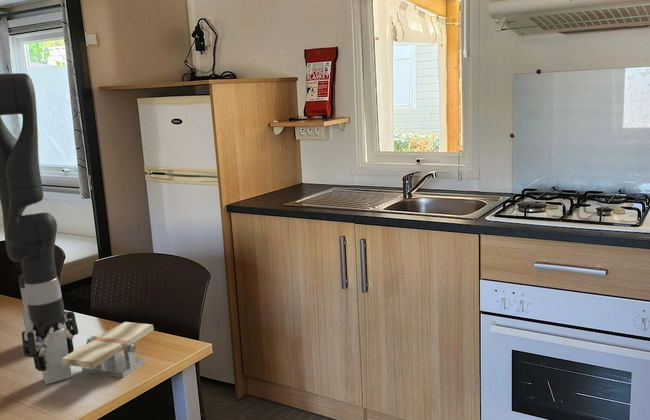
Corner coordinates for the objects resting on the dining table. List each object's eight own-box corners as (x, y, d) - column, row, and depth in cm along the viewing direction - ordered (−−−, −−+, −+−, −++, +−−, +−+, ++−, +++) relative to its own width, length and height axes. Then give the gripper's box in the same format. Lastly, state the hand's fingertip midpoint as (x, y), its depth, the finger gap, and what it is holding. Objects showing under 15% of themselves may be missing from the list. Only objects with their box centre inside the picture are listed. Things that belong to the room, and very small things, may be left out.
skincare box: (46, 385, 144) (37, 337, 142) (42, 378, 148) (34, 331, 146) (73, 377, 148) (65, 329, 145) (69, 370, 151) (61, 324, 149)
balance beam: (62, 364, 142) (61, 357, 142) (125, 327, 162) (124, 321, 162) (93, 368, 139) (92, 361, 138) (153, 330, 159) (153, 324, 158)
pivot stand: (80, 371, 150) (75, 344, 149) (103, 357, 158) (99, 330, 156) (125, 377, 145) (121, 349, 144) (146, 362, 153) (142, 335, 151)
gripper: (32, 310, 136) (44, 377, 139) (79, 288, 149) (89, 351, 152) (7, 308, 139) (20, 374, 142) (55, 287, 152) (66, 348, 155)
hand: (55, 362), depth 147 cm, fingers open, 8 cm apart
